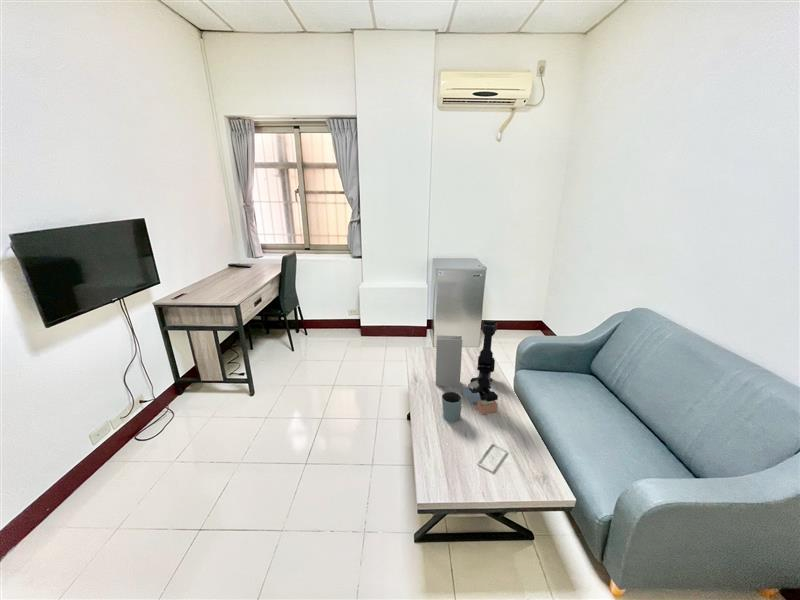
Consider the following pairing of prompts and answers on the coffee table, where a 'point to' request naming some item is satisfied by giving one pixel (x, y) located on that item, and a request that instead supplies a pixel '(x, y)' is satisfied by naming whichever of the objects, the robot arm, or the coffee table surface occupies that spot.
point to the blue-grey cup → (451, 406)
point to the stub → (486, 407)
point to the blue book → (471, 395)
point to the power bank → (498, 462)
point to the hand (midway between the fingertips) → (482, 402)
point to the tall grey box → (448, 360)
